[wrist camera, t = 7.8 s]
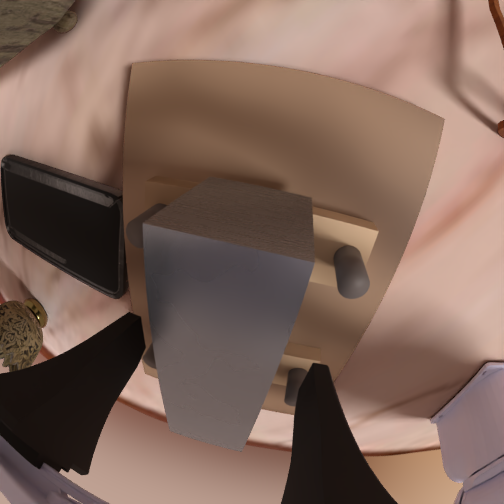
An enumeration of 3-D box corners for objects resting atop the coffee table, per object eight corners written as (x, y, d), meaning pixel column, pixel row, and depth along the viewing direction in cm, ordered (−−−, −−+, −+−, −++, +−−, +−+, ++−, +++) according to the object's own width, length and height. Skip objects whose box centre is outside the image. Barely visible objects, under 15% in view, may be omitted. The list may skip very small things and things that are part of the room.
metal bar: (257, 383, 16) (241, 451, 11) (197, 366, 16) (169, 430, 12) (311, 197, 10) (314, 262, 6) (210, 176, 10) (142, 223, 6)
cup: (28, 271, 20) (-24, 317, 13) (70, 329, 22) (27, 383, 15) (14, 290, 23) (-26, 329, 16) (49, 339, 25) (14, 381, 18)
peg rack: (309, 405, 20) (305, 448, 16) (150, 363, 21) (130, 400, 17) (433, 118, 9) (482, 123, 5) (145, 66, 10) (90, 56, 7)
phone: (0, 155, 13) (127, 199, 13) (10, 151, 14) (138, 193, 14) (7, 236, 17) (123, 305, 17) (15, 230, 18) (131, 296, 18)
